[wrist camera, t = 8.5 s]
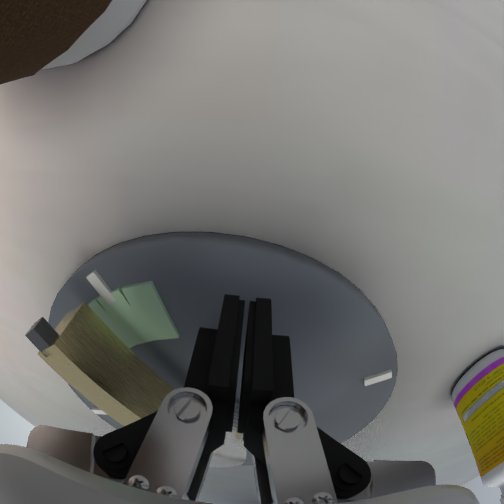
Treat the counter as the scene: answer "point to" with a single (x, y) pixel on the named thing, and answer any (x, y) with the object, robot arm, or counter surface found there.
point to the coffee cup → (57, 32)
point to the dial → (248, 288)
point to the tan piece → (114, 374)
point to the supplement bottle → (484, 416)
